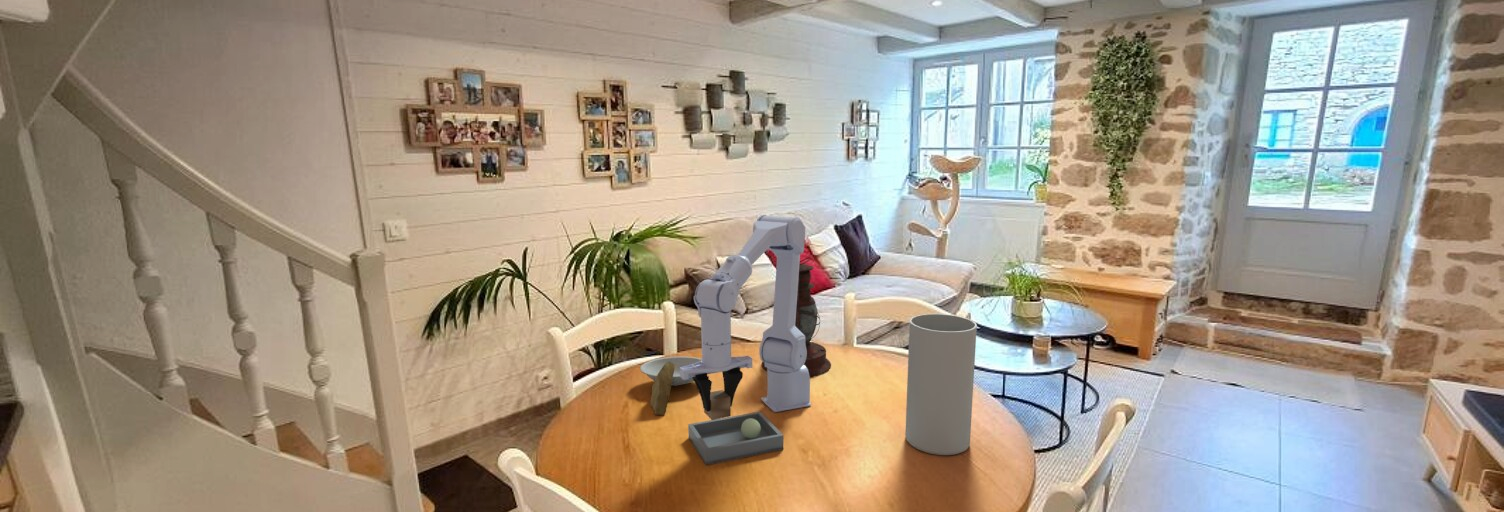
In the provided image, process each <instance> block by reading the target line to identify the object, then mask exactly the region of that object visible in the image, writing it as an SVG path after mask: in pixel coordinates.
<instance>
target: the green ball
mask: <svg viewBox="0 0 1504 512" xmlns="http://www.w3.org/2000/svg"><path fill="white" fill-rule="evenodd" d="M760 431H761V427H760V424H759V422H758V421H757V420H755V419H752V418H750V419H746V420H745V421H744V422H743V423H742V426H741V432H742V434H743V435H744V436H745V437H746V438H749V439H753V438H756V437H757V436H758V435H759V433H760Z"/></svg>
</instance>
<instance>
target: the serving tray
mask: <svg viewBox="0 0 1504 512" xmlns="http://www.w3.org/2000/svg"><path fill="white" fill-rule="evenodd" d="M750 418H752V419H755V420H757V421H758V422H759V424H760V427H761V431H760V433H759V435H758V436H757V437H756V438H753V439H749V438H746V437H745V436H744V435H743V434H742V432H741V426H742V423H743V422H744V421H745V420H746V419H750ZM687 425H688V427H687V428H688V439H689V441H690V442H691V444H692V446H693V447H694V448H695V450H696V451H697V453H698V455H699V457H700V458H701V459H702V461H703V463H704V464H705V466H711V465H715V464H719V463H723V462H729V461H734V460H738V459H743V458H749V457H754V456H757V455H758V456H759V455H763V454H768V453H772V452H778V451H783V450H784V434H783V433H782V432H781V431H780V430H779V429H778V428H777V427H776V426H775V425H774V424H773V422H771V421H770V420H769V419H768V418H767V417H766V416H765V415H764V413H763V412H761V411H755V412H750V413H744V414H738V415H732V416H729V417H724V418H720V419H715V420H711V419H709V420H704V421H698V422H694V423H688V424H687Z"/></svg>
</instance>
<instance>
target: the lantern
mask: <svg viewBox="0 0 1504 512" xmlns="http://www.w3.org/2000/svg"><path fill="white" fill-rule="evenodd" d="M811 259H812V257H811V256H810V257H806V258H804V259H802V260H800V262H799V277H798V291H797V305H796V320H795V326H796V327H797V328H798V329H799V330H800V331H801V332H802V333H803V334H804V335H805V344H806V349H807V357H806V361H805V363H804V365H805V366H806V367H807V369H808V372H809V376H810V378H813V377H817V376H821V375H824V374H826V373H828V372H829V371H830V370H831V369H832V363H831V361H830V360H829V359H828V358H827V349H826V348H825V347H824V346H823V345H821V344H819V343H817V342H814V341H812V339H813V338H815V336H817V334H818V332H819V329H820V325H821V318H820V314H819V312H818V307H817V304H816V301H815V299H814V297H813V296H812V295H811V289H813V288H814V287H815V284H813V283H812V282H811V280H812V275H811V271H812V270H814V266H812V265H809V264H806V263H807V262H809V261H811ZM818 319H819V322H818ZM817 326H818V329H817V331H816V328H817ZM815 331H816V333H815ZM814 334H815V335H814ZM761 361H762V360H761ZM762 367H763V368H762ZM761 368H762V369H763V370H764V371H765V372H767V367H765V362H763V361H762V362H761ZM829 369H830V370H829ZM828 370H829V371H828ZM827 371H828V372H827Z"/></svg>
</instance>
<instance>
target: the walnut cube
mask: <svg viewBox="0 0 1504 512" xmlns="http://www.w3.org/2000/svg"><path fill="white" fill-rule="evenodd" d="M710 402H711V407H710V411H706V410H705V409H704V408H703V412H704V414H705V415H706V416H707V417H708V419H709V420H715V419H721V418H726V417H732V416H731V415H732V414H731V413H732V412H731V410H732V409H731V407H732V406H730V396H729V395H728V394H726V393H725V392H724V390H723V389H719V390H715V391H711V392H710Z"/></svg>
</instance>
